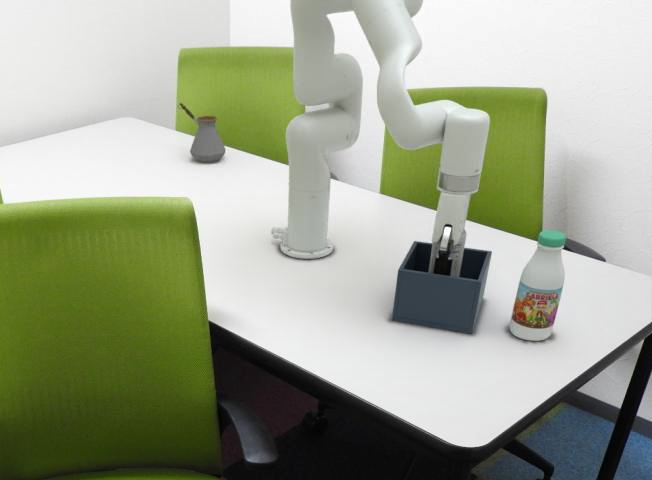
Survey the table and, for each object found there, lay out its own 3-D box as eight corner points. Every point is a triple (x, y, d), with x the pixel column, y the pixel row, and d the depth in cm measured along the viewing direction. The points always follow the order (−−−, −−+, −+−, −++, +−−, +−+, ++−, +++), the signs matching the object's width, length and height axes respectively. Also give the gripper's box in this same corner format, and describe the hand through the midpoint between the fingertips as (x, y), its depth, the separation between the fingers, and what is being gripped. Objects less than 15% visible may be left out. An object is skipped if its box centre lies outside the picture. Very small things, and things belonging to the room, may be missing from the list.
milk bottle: (502, 324, 150) (523, 227, 138) (540, 321, 150) (563, 225, 139) (518, 343, 143) (541, 243, 132) (557, 340, 144) (584, 241, 132)
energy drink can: (459, 293, 154) (472, 222, 145) (450, 304, 150) (462, 232, 141) (431, 286, 157) (441, 216, 148) (420, 297, 152) (431, 226, 144)
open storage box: (391, 320, 152) (397, 269, 146) (407, 288, 164) (414, 240, 157) (471, 334, 146) (481, 282, 140) (482, 300, 158) (492, 251, 152)
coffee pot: (232, 160, 244) (232, 111, 235) (203, 167, 238) (201, 117, 230) (195, 146, 258) (194, 99, 250) (167, 152, 253) (164, 105, 244)
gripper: (445, 165, 148) (432, 252, 158) (429, 193, 135) (416, 285, 145) (485, 169, 145) (469, 257, 155) (472, 197, 132) (456, 291, 142)
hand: (444, 269), depth 150 cm, fingers closed on energy drink can, 6 cm apart
